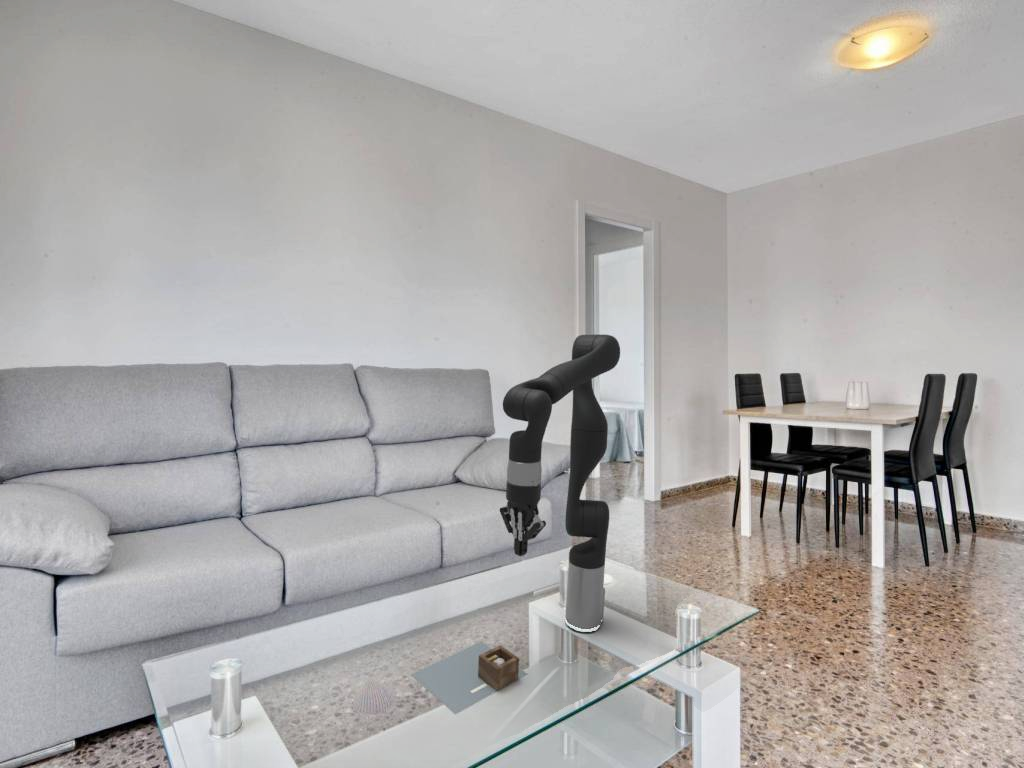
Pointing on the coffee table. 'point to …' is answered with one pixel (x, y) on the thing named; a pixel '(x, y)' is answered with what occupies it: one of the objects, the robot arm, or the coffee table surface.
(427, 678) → the shaft plate
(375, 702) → the seashell
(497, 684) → the open wooden crate
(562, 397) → the robot arm
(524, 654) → the coffee table surface
